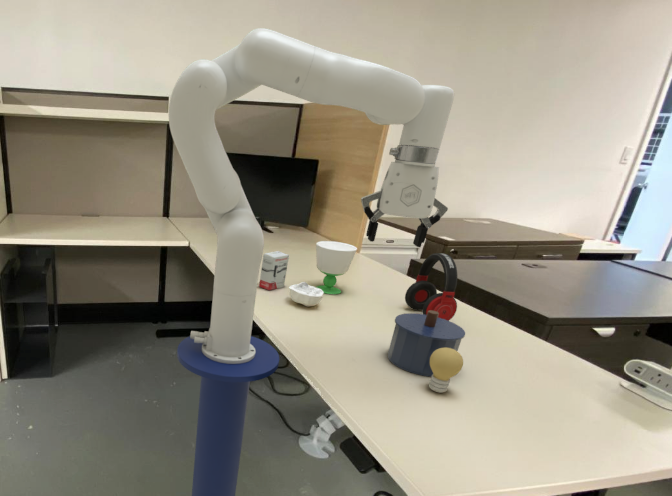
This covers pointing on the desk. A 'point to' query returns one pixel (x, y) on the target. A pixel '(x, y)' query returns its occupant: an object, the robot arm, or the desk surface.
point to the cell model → (305, 294)
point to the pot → (415, 351)
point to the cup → (333, 262)
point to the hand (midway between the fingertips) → (393, 243)
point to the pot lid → (430, 326)
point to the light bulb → (444, 368)
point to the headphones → (425, 293)
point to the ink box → (273, 270)
